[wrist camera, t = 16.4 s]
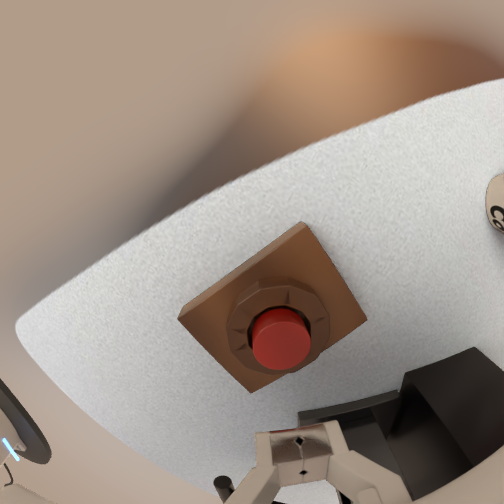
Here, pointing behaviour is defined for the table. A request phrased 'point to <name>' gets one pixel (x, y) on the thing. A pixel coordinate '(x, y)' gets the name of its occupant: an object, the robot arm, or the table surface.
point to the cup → (496, 202)
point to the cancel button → (280, 339)
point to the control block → (273, 305)
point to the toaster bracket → (363, 429)
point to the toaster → (447, 420)
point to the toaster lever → (227, 488)
